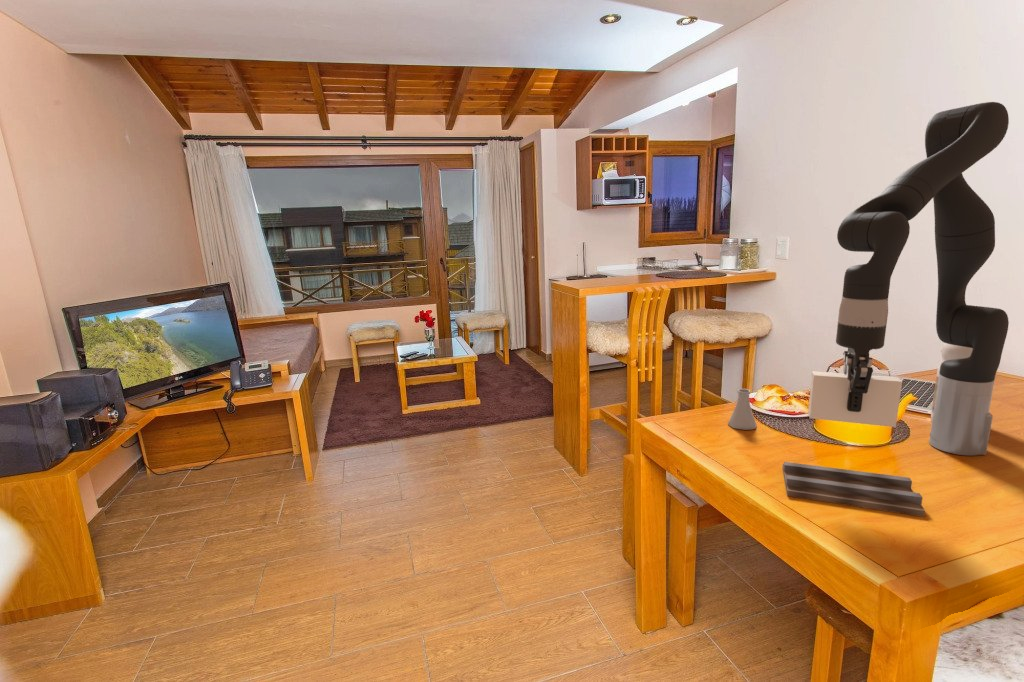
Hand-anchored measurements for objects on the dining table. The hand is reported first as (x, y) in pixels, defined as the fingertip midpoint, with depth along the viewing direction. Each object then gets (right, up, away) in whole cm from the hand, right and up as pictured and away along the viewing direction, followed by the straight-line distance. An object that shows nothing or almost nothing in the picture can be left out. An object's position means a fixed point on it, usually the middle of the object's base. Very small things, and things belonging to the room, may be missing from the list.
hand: (851, 407), depth 96 cm
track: (+1, -17, +3) cm, 18 cm away
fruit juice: (+48, -8, +31) cm, 58 cm away
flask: (-4, -10, +37) cm, 38 cm away
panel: (0, -2, +1) cm, 3 cm away
